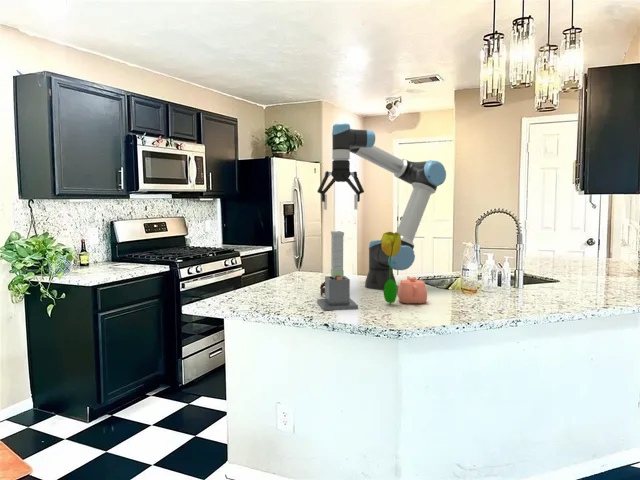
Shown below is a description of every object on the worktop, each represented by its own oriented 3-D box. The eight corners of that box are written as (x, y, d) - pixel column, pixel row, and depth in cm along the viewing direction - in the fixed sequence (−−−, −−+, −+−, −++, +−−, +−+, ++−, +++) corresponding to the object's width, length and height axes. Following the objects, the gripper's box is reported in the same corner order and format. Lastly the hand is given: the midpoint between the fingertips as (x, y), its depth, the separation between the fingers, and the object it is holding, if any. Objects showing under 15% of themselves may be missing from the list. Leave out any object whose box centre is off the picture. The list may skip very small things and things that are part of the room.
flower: (379, 302, 202) (380, 231, 200) (398, 302, 202) (399, 231, 199) (381, 307, 194) (382, 233, 191) (401, 307, 194) (402, 233, 191)
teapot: (401, 306, 195) (402, 281, 194) (394, 297, 213) (395, 273, 212) (429, 306, 195) (430, 281, 194) (420, 297, 213) (421, 274, 212)
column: (340, 280, 198) (340, 231, 196) (343, 283, 193) (344, 232, 191) (330, 281, 198) (330, 231, 196) (333, 283, 192) (333, 232, 190)
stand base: (349, 301, 204) (349, 272, 203) (358, 309, 190) (358, 277, 189) (317, 302, 202) (317, 273, 200) (323, 310, 188) (323, 279, 187)
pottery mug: (344, 298, 211) (336, 283, 209) (325, 307, 213) (317, 292, 211) (343, 286, 223) (335, 272, 220) (325, 295, 224) (317, 280, 222)
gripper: (366, 161, 213) (365, 209, 215) (311, 160, 208) (311, 209, 210) (371, 160, 205) (370, 209, 207) (313, 159, 201) (313, 209, 203)
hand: (340, 209), depth 209 cm, fingers open, 13 cm apart
